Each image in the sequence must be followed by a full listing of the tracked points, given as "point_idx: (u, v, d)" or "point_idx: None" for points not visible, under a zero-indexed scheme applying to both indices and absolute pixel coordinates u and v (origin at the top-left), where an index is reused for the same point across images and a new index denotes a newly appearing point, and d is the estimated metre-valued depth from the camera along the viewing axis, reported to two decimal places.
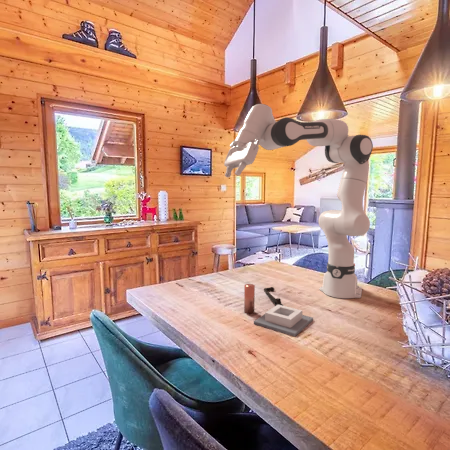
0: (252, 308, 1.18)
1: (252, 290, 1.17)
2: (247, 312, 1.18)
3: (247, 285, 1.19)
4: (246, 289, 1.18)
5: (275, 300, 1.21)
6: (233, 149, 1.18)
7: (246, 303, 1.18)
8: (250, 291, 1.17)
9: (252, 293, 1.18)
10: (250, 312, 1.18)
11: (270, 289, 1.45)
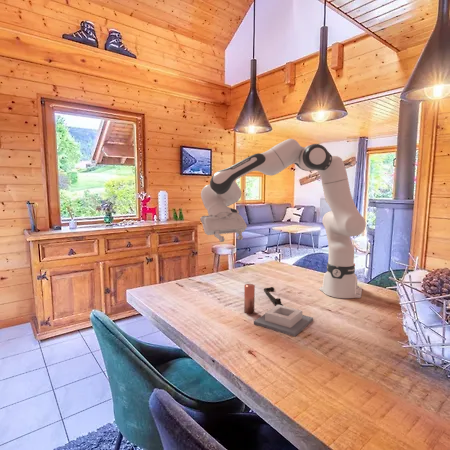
0: (252, 308, 1.18)
1: (252, 290, 1.17)
2: (247, 312, 1.18)
3: (247, 285, 1.19)
4: (246, 289, 1.18)
5: (275, 300, 1.21)
6: None
7: (246, 303, 1.18)
8: (250, 291, 1.17)
9: (252, 293, 1.18)
10: (250, 312, 1.18)
11: (270, 289, 1.45)
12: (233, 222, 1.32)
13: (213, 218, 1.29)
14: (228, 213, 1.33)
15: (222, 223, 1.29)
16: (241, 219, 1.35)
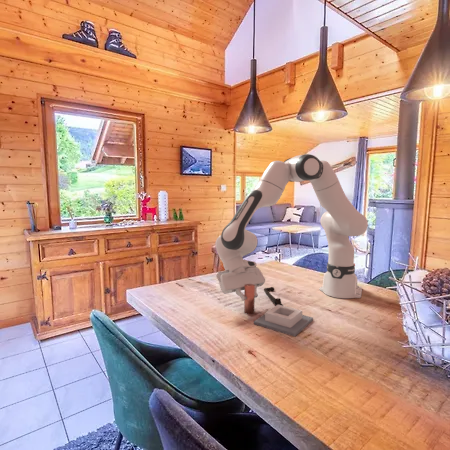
0: (252, 308, 1.18)
1: (252, 290, 1.17)
2: (247, 312, 1.18)
3: (247, 285, 1.19)
4: (246, 289, 1.18)
5: (275, 300, 1.21)
6: None
7: (246, 303, 1.18)
8: (250, 291, 1.17)
9: (252, 293, 1.18)
10: (250, 312, 1.18)
11: (270, 289, 1.45)
12: (251, 277, 1.24)
13: (230, 274, 1.20)
14: (245, 267, 1.25)
15: (240, 280, 1.21)
16: (259, 272, 1.27)
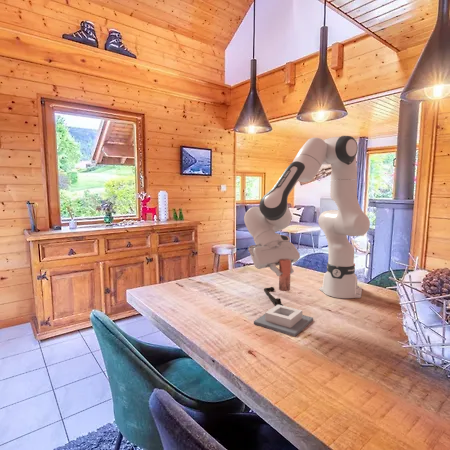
0: (288, 284, 1.08)
1: (288, 265, 1.07)
2: (283, 289, 1.08)
3: (282, 259, 1.08)
4: (282, 264, 1.07)
5: (275, 300, 1.21)
6: None
7: (282, 279, 1.08)
8: (287, 266, 1.07)
9: (288, 268, 1.07)
10: (286, 289, 1.08)
11: (270, 289, 1.45)
12: (285, 252, 1.13)
13: (263, 248, 1.10)
14: (279, 241, 1.14)
15: (274, 254, 1.10)
16: (293, 247, 1.16)
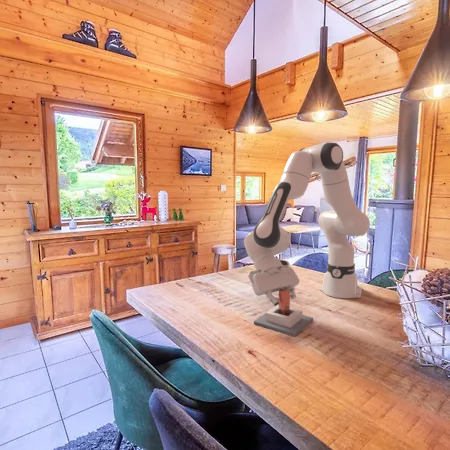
0: (288, 315, 1.09)
1: (288, 295, 1.08)
2: None
3: (282, 290, 1.10)
4: (281, 294, 1.08)
5: None
6: None
7: (281, 310, 1.09)
8: (286, 297, 1.08)
9: (288, 299, 1.08)
10: None
11: None
12: (284, 278, 1.14)
13: (263, 275, 1.11)
14: (278, 267, 1.15)
15: (273, 280, 1.11)
16: (292, 272, 1.17)
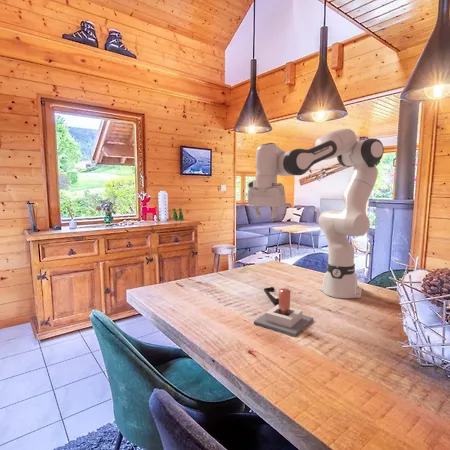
0: (288, 315, 1.09)
1: (288, 295, 1.08)
2: None
3: (282, 290, 1.10)
4: (281, 294, 1.08)
5: (275, 300, 1.21)
6: (254, 191, 1.27)
7: (281, 310, 1.09)
8: (286, 297, 1.08)
9: (288, 299, 1.08)
10: None
11: (270, 289, 1.45)
12: None
13: None
14: None
15: None
16: None
